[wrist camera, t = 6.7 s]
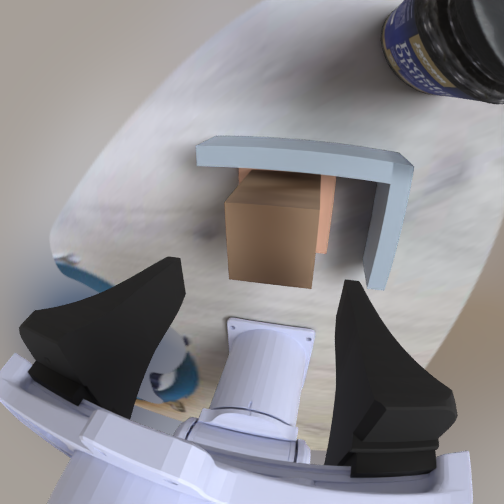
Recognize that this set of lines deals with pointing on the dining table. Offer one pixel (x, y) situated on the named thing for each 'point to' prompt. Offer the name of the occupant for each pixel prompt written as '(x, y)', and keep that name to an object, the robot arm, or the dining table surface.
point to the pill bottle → (448, 47)
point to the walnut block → (273, 228)
